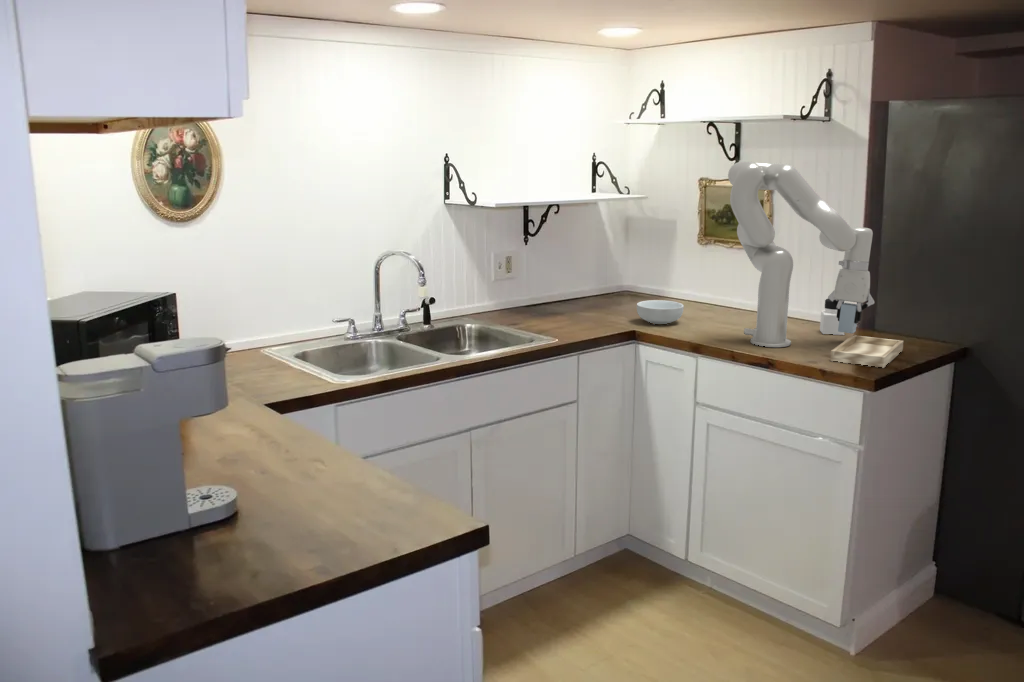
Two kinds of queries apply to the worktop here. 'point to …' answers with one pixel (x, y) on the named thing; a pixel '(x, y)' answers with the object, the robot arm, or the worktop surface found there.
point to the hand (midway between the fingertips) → (848, 321)
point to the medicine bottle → (829, 319)
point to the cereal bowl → (660, 311)
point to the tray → (867, 351)
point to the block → (847, 318)
